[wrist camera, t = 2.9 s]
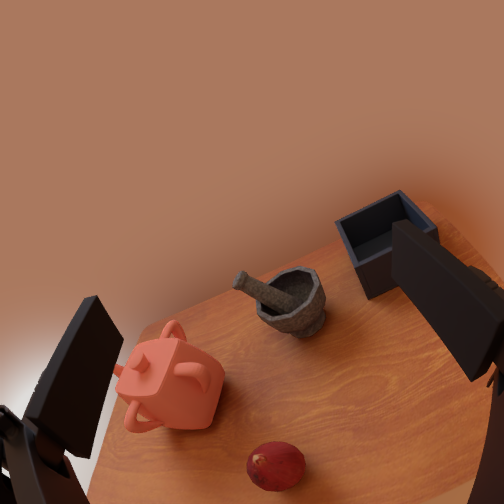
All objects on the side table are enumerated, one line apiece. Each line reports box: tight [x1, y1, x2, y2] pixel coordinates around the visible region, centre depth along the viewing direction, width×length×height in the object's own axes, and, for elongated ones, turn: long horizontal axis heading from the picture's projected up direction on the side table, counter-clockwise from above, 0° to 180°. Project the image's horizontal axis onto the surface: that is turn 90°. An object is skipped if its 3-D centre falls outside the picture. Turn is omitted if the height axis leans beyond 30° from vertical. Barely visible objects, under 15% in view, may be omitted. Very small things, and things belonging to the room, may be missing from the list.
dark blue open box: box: [335, 190, 440, 300], centre depth 40 cm, size 13×13×7 cm
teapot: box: [113, 320, 225, 433], centre depth 37 cm, size 17×16×13 cm
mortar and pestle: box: [233, 266, 326, 338], centre depth 39 cm, size 11×9×12 cm
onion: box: [247, 442, 306, 492], centre depth 22 cm, size 6×6×8 cm
